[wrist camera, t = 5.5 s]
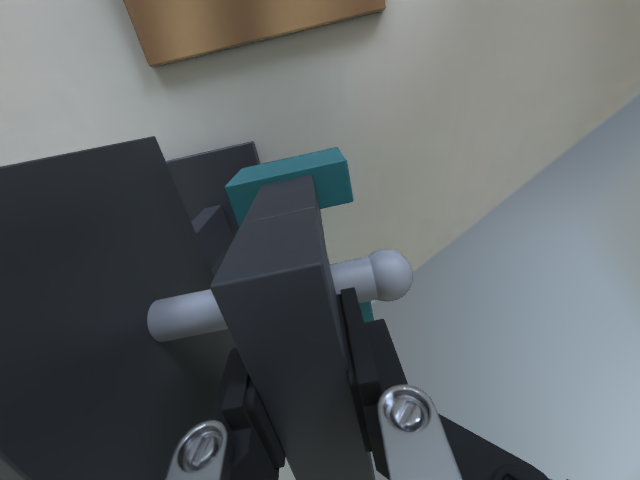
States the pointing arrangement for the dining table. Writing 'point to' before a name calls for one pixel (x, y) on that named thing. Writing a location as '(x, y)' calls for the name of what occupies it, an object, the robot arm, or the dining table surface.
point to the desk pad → (229, 23)
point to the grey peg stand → (122, 306)
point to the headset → (293, 311)
